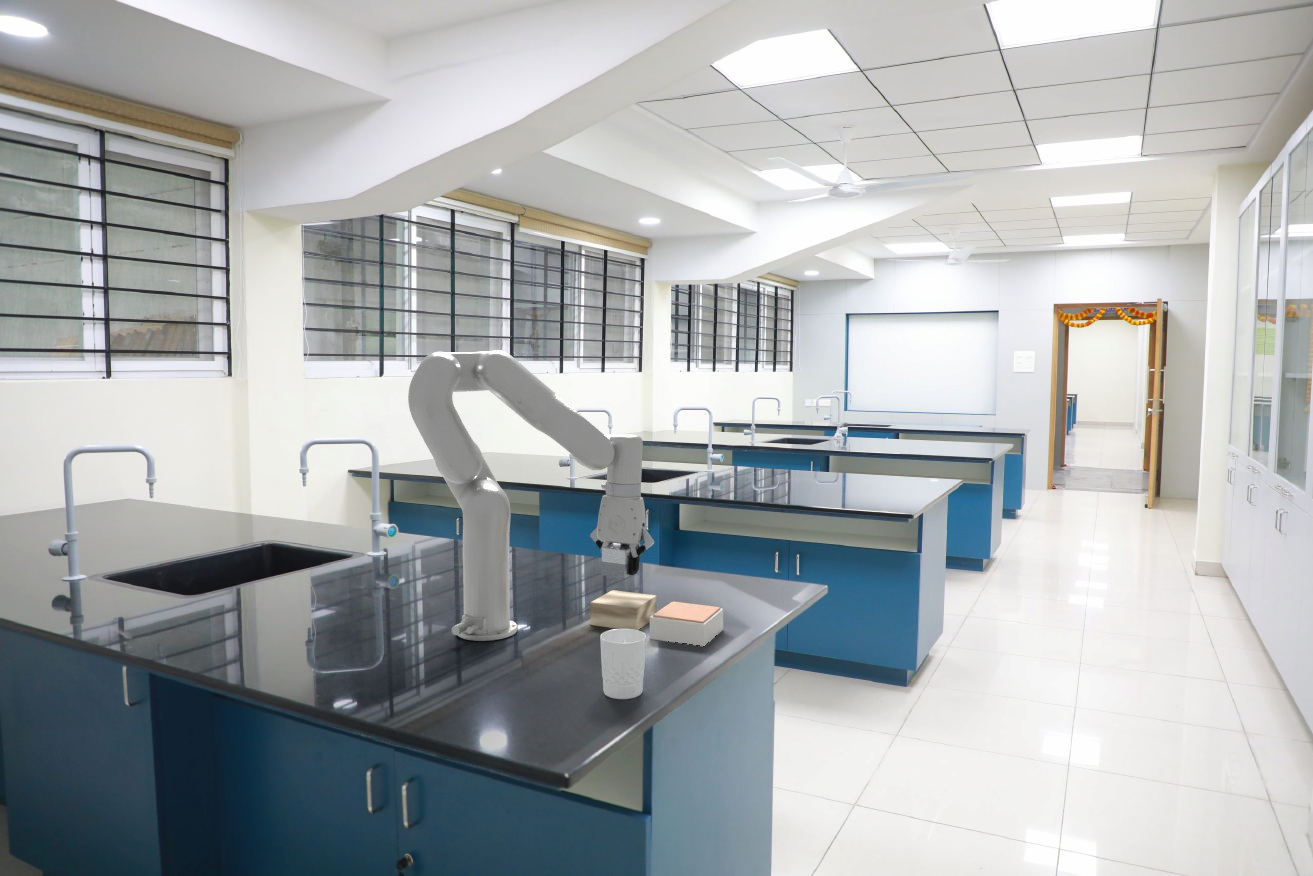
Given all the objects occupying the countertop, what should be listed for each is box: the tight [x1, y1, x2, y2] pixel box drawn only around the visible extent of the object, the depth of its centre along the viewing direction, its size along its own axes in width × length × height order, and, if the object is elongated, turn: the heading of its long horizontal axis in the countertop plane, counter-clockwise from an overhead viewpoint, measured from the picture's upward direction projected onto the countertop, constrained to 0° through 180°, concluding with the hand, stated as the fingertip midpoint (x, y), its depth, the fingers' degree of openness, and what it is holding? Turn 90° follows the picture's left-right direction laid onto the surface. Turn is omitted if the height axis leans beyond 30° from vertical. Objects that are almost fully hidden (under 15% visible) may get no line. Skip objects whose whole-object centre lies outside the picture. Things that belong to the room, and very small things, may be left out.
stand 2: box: [649, 600, 724, 647], centre depth 176 cm, size 12×12×5 cm
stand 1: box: [589, 590, 658, 631], centre depth 184 cm, size 11×11×5 cm
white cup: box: [599, 628, 647, 700], centre depth 144 cm, size 8×8×10 cm
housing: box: [600, 543, 641, 579], centre depth 183 cm, size 8×6×7 cm
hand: (620, 571), depth 183 cm, fingers closed on housing, 5 cm apart
